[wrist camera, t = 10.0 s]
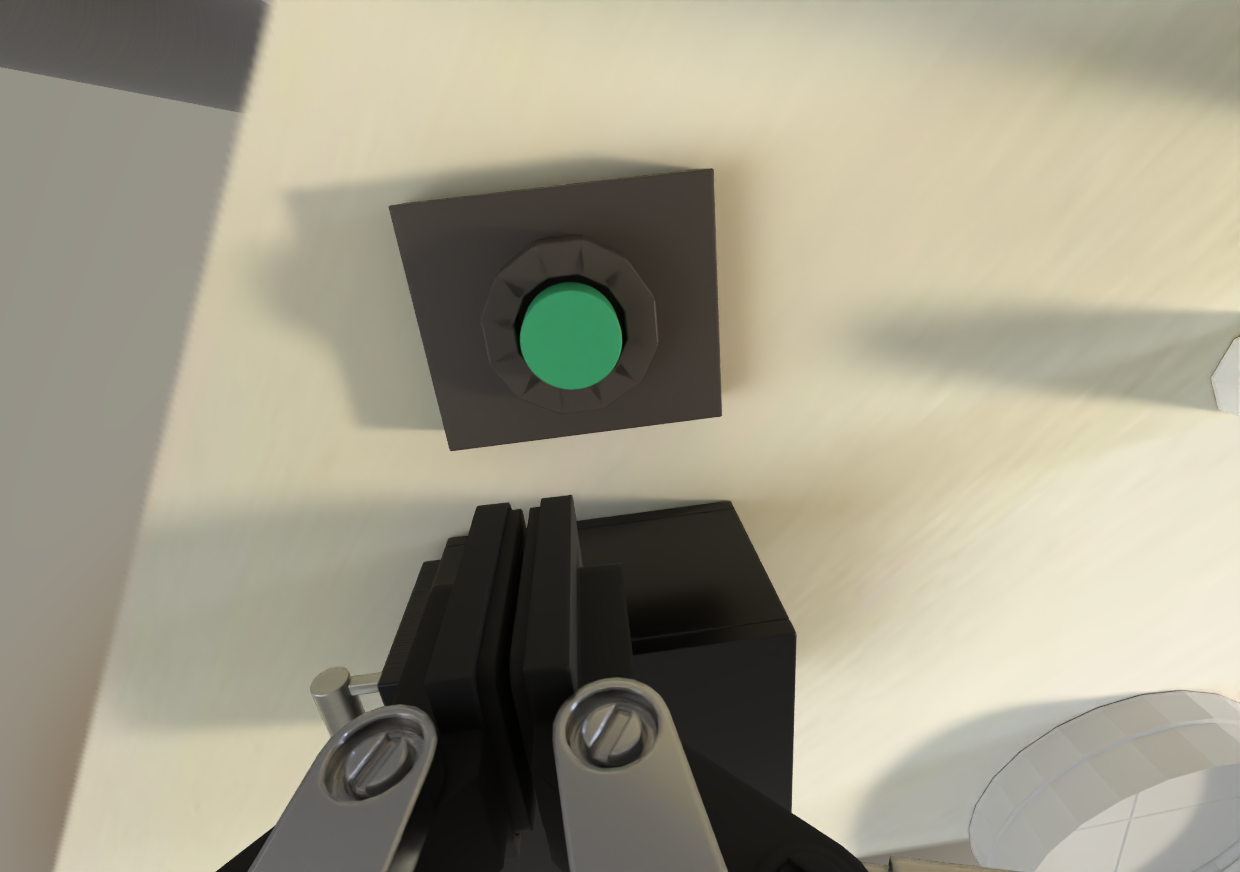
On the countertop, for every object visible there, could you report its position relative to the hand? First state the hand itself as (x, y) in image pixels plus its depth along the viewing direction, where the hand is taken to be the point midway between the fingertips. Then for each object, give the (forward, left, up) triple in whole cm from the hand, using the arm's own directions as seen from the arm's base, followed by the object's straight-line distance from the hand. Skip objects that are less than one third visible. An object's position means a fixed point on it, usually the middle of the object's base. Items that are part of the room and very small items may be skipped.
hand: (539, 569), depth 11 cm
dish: (+40, +36, -17) cm, 56 cm away
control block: (-1, +1, -17) cm, 17 cm away
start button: (-1, +1, -13) cm, 13 cm away
